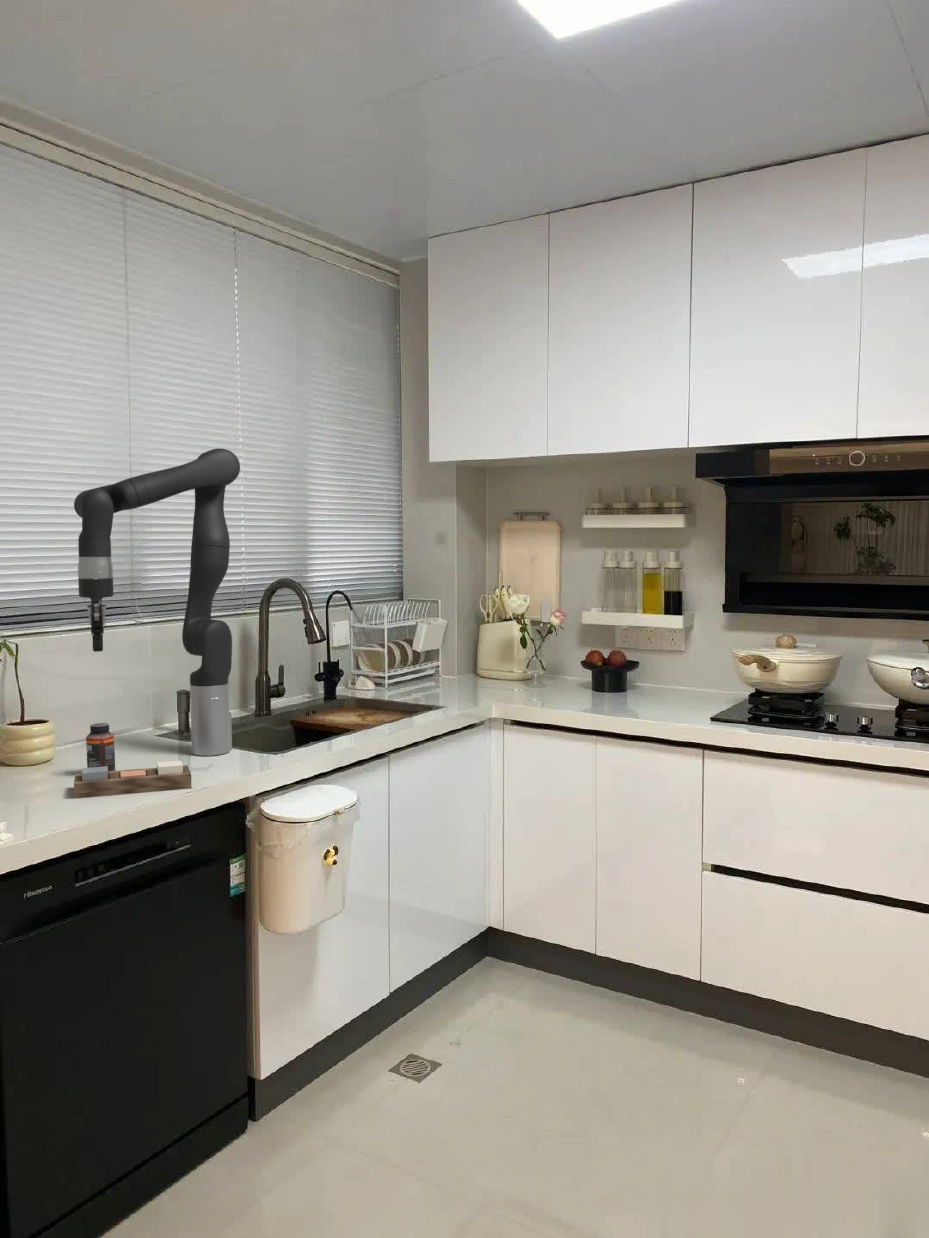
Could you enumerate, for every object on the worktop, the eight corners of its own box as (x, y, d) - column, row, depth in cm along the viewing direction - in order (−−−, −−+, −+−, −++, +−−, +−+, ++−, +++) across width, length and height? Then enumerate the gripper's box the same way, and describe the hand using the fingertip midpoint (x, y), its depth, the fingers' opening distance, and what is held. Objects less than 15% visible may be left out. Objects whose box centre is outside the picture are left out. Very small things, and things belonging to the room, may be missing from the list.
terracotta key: (145, 779, 204) (145, 769, 204) (146, 784, 200) (146, 774, 200) (120, 781, 203) (120, 771, 202) (121, 787, 198) (120, 776, 198)
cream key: (181, 770, 207) (181, 760, 207) (183, 775, 202) (182, 765, 202) (157, 772, 205) (157, 762, 205) (158, 777, 200) (158, 767, 200)
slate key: (107, 776, 202) (107, 766, 201) (108, 781, 197) (107, 771, 197) (82, 778, 200) (82, 768, 200) (82, 783, 195) (81, 773, 195)
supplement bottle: (119, 770, 217) (117, 721, 216) (110, 776, 211) (108, 726, 210) (92, 770, 217) (91, 721, 216) (83, 777, 211) (81, 726, 210)
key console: (187, 778, 209) (187, 765, 209) (191, 788, 201) (191, 774, 201) (75, 787, 201) (75, 774, 201) (74, 798, 193) (73, 783, 193)
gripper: (78, 576, 224) (81, 649, 225) (77, 577, 211) (79, 654, 213) (112, 575, 226) (114, 647, 227) (113, 577, 214) (115, 653, 215)
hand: (98, 651), depth 220 cm, fingers closed
